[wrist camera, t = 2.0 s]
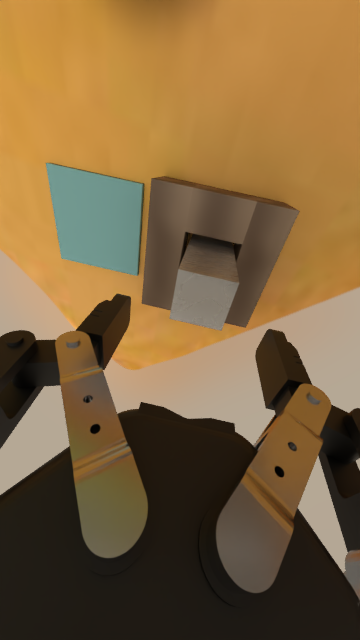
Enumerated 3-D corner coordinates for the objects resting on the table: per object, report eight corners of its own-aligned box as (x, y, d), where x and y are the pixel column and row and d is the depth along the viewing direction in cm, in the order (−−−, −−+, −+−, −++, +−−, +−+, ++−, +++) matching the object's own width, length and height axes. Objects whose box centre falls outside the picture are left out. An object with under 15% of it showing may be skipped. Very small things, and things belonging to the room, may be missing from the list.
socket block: (284, 202, 21) (299, 211, 17) (241, 304, 28) (245, 327, 24) (164, 176, 21) (151, 178, 17) (152, 284, 28) (141, 303, 24)
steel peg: (231, 235, 23) (239, 283, 14) (220, 269, 26) (221, 330, 16) (195, 227, 23) (178, 269, 14) (188, 262, 26) (169, 318, 16)
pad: (144, 184, 22) (142, 184, 21) (138, 273, 28) (137, 275, 27) (49, 163, 22) (45, 162, 21) (64, 256, 28) (61, 258, 27)
